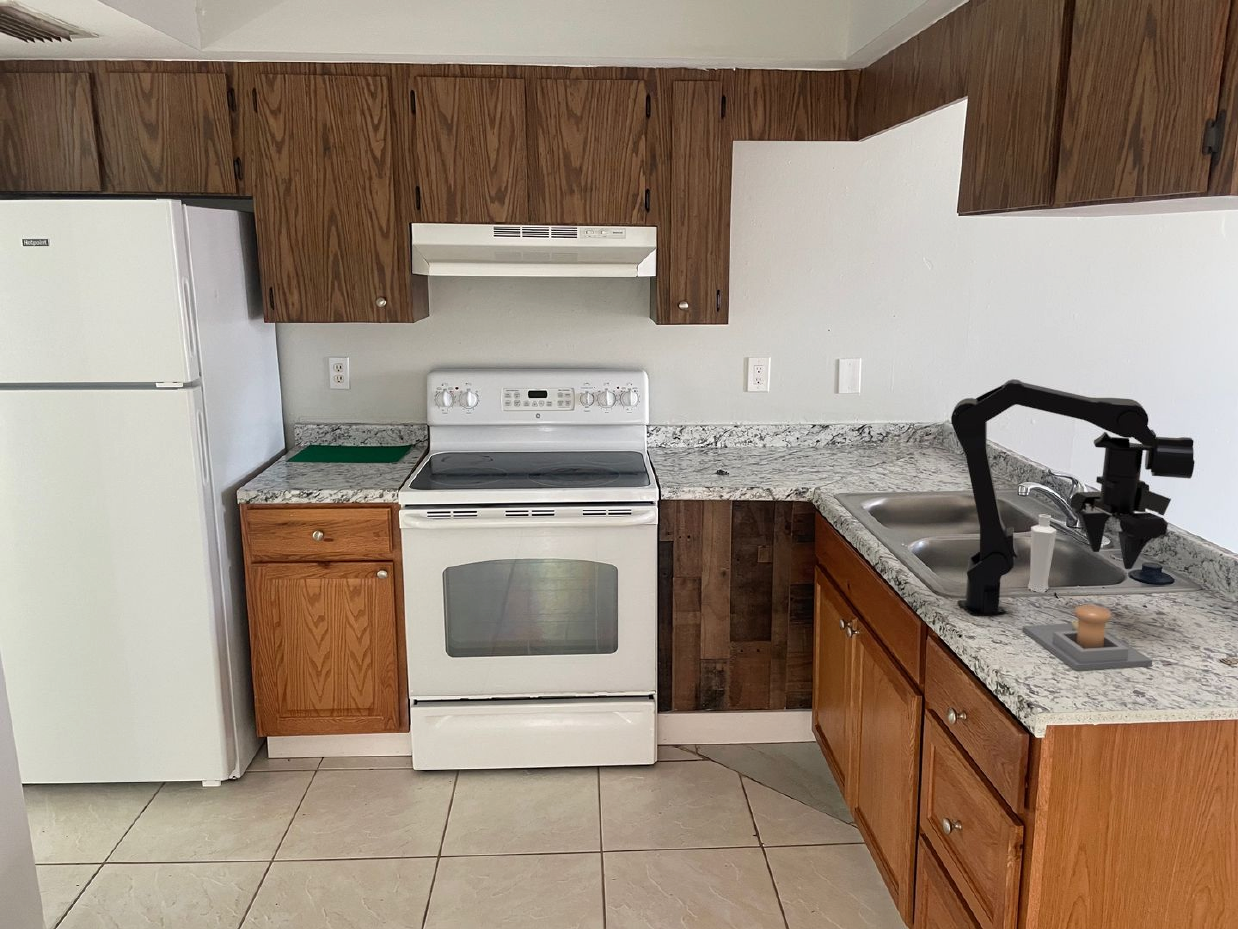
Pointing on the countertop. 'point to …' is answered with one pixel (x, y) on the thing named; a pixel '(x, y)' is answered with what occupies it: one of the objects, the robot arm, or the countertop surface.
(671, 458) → the countertop surface
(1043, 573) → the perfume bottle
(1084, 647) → the tan flared peg
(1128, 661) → the housing
